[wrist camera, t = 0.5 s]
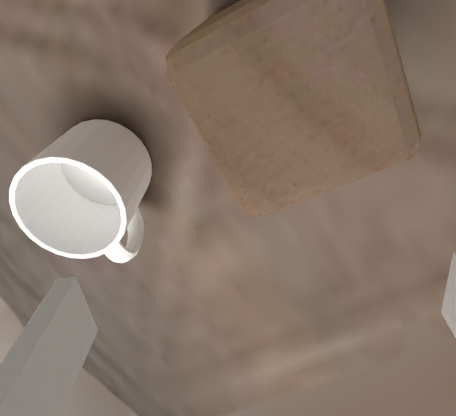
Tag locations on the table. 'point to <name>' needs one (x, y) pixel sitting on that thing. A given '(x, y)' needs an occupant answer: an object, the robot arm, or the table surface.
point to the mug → (85, 192)
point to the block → (296, 96)
